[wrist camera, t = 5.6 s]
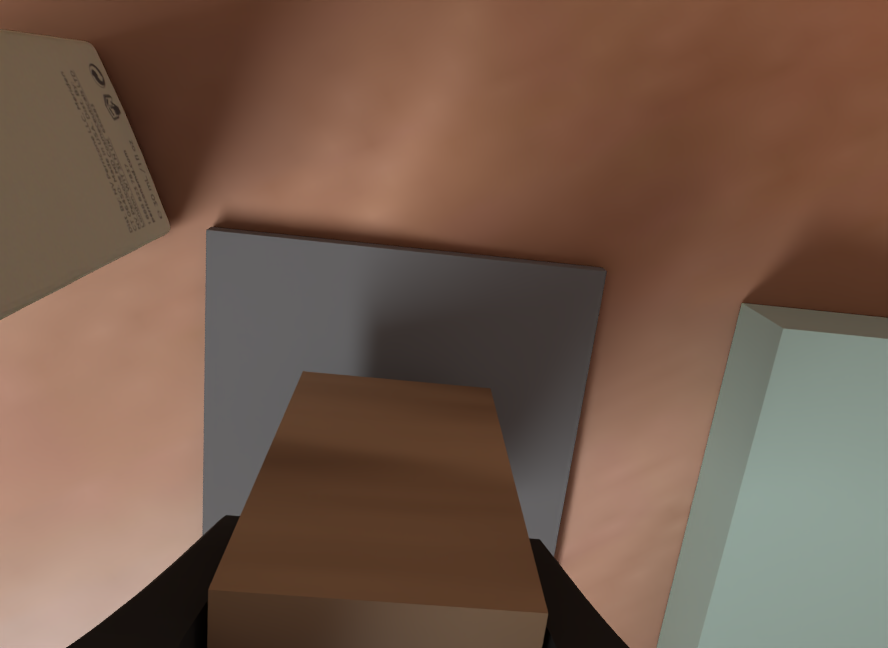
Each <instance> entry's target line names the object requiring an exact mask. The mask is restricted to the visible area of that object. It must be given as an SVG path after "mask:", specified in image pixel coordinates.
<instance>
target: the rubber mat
mask: <svg viewBox="0 0 888 648" xmlns="http://www.w3.org/2000/svg"><path fill="white" fill-rule="evenodd" d="M606 273H607V271H606V270H605V269H603V268H601V267H592V266H582V265H572V264H563V263H553V262H544V261H534V260H524V259H515V258H505V257H496V256H486V255H476V254H467V253H457V252H448V251H438V250H428V249H419V248H409V247H400V246H390V245H381V244H371V243H361V242H352V241H342V240H333V239H323V238H313V237H304V236H294V235H285V234H275V233H265V232H256V231H246V230H237V229H227V228H217V227H210V228H209V229H207V230H206V302H205V382H204V462H203V535H204V534H205V533H206V532H207V531H208V530H209V529H210V528H211V527H212V526H214V525H215V524H216V523H217V522H218V521H219V520H220V519H221V518H223V517H224V516H225V515H233V516H240V515H241V513H242V511H243V508H244V506H245V504H246V501H247V499H248V497H249V494H250V492H251V490H252V487H253V485H254V483H255V481H256V478H257V476H258V474H259V471H260V469H261V467H262V464H263V462H264V460H265V457H266V455H267V453H268V451H269V448H270V446H271V444H272V441H273V439H274V437H275V434H276V432H277V430H278V427H279V425H280V423H281V421H282V418H283V416H284V414H285V411H286V409H287V407H288V404H289V402H290V400H291V397H292V395H293V393H294V391H295V388H296V386H297V384H298V381H299V379H300V377H301V374H302V372H303V371H306V372H317V373H328V374H339V375H350V376H361V377H372V378H383V379H393V380H404V381H415V382H426V383H437V384H448V385H459V386H470V387H481V388H491V392H492V396H493V400H494V404H495V408H496V412H497V416H498V420H499V423H500V427H501V431H502V435H503V439H504V443H505V447H506V451H507V455H508V458H509V462H510V466H511V470H512V474H513V478H514V482H515V486H516V490H517V493H518V497H519V501H520V505H521V509H522V513H523V517H524V521H525V525H526V528H527V532H528V536H529V538H531V539H540V540H541V541H542V543H543V544H544V545H545V546H546V548H547V549H548V550H549V551H550V553H551V554H552V555H553V557H554V553H555V548H556V542H557V537H558V532H559V526H560V521H561V515H562V510H563V505H564V499H565V494H566V488H567V483H568V478H569V472H570V467H571V462H572V456H573V451H574V445H575V440H576V435H577V429H578V424H579V418H580V413H581V408H582V402H583V397H584V392H585V386H586V381H587V375H588V370H589V365H590V359H591V354H592V348H593V343H594V338H595V332H596V327H597V322H598V316H599V311H600V305H601V300H602V295H603V289H604V284H605V278H606Z"/></svg>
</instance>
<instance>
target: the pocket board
mask: <svg viewBox="0 0 888 648" xmlns="http://www.w3.org/2000/svg"><path fill="white" fill-rule="evenodd" d="M657 648H888V318H885V317H875V316H865V315H856V314H846V313H836V312H826V311H817V310H807V309H797V308H787V307H777V306H768V305H758V304H748V303H742V304H741V308H740V312H739V316H738V320H737V324H736V328H735V332H734V336H733V341H732V345H731V349H730V353H729V357H728V361H727V365H726V369H725V373H724V377H723V381H722V385H721V389H720V393H719V397H718V401H717V405H716V409H715V413H714V417H713V421H712V425H711V429H710V434H709V438H708V442H707V446H706V450H705V454H704V458H703V462H702V466H701V470H700V474H699V478H698V482H697V486H696V490H695V494H694V498H693V502H692V506H691V510H690V514H689V518H688V522H687V526H686V531H685V535H684V539H683V543H682V547H681V551H680V555H679V559H678V563H677V567H676V571H675V575H674V579H673V583H672V587H671V591H670V595H669V599H668V603H667V607H666V611H665V615H664V619H663V624H662V628H661V632H660V636H659V640H658V644H657Z"/></svg>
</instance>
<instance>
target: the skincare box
mask: <svg viewBox="0 0 888 648" xmlns="http://www.w3.org/2000/svg"><path fill="white" fill-rule="evenodd" d="M169 231H170V224H169V221H168V218H167V216H166V214H165V211H164V209H163V206H162V204H161V201H160V199H159V196H158V193H157V191H156V188H155V185H154V183H153V180H152V178H151V175H150V173H149V170H148V168H147V165H146V163H145V160H144V158H143V155H142V153H141V150H140V148H139V146H138V143H137V141H136V138H135V136H134V133H133V131H132V129H131V126H130V124H129V121H128V119H127V117H126V114H125V112H124V110H123V108H122V105H121V103H120V101H119V99H118V96H117V94H116V92H115V90H114V88H113V86H112V83H111V81H110V79H109V77H108V75H107V73H106V70H105V68H104V66H103V64H102V62H101V60H100V58H99V55H98V53H97V51H96V50H95V48H94V47H93V45H92V44H90V43H89V42H86V41H82V40H74V39H66V38H59V37H53V36H47V35H37V34H31V33H26V32H19V31H11V30H4V29H0V320H1V319H3V318H5V317H7V316H9V315H11V314H13V313H14V312H16V311H18V310H20V309H22V308H24V307H26V306H28V305H30V304H32V303H33V302H35V301H37V300H39V299H41V298H43V297H45V296H47V295H49V294H51V293H53V292H55V291H57V290H59V289H61V288H63V287H65V286H67V285H69V284H70V283H72V282H74V281H76V280H78V279H80V278H82V277H84V276H86V275H87V274H89V273H91V272H93V271H95V270H97V269H99V268H101V267H103V266H105V265H107V264H109V263H111V262H113V261H115V260H117V259H119V258H121V257H123V256H125V255H127V254H129V253H130V252H132V251H134V250H136V249H138V248H140V247H142V246H144V245H145V244H147V243H149V242H151V241H153V240H155V239H157V238H159V237H161V236H164V235H165V234H167V233H168V232H169Z"/></svg>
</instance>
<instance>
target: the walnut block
mask: <svg viewBox="0 0 888 648" xmlns="http://www.w3.org/2000/svg"><path fill="white" fill-rule="evenodd" d="M547 618H548V610H547V606H546V602H545V598H544V595H543V591H542V587H541V583H540V579H539V575H538V571H537V567H536V563H535V560H534V556H533V552H532V548H531V544H530V540H529V536H528V532H527V528H526V525H525V521H524V517H523V513H522V509H521V505H520V501H519V497H518V493H517V490H516V486H515V482H514V478H513V474H512V470H511V466H510V462H509V458H508V455H507V451H506V447H505V443H504V439H503V435H502V431H501V427H500V423H499V420H498V416H497V412H496V408H495V404H494V400H493V396H492V392H491V388H481V387H470V386H459V385H448V384H437V383H426V382H415V381H404V380H393V379H383V378H372V377H361V376H350V375H339V374H328V373H317V372H306V371H303V372H302V374H301V377H300V379H299V381H298V384H297V386H296V388H295V391H294V393H293V395H292V397H291V400H290V402H289V404H288V407H287V409H286V411H285V414H284V416H283V418H282V421H281V423H280V425H279V427H278V430H277V432H276V434H275V437H274V439H273V441H272V444H271V446H270V448H269V451H268V453H267V455H266V457H265V460H264V462H263V464H262V467H261V469H260V471H259V474H258V476H257V478H256V481H255V483H254V485H253V487H252V490H251V492H250V494H249V497H248V499H247V501H246V504H245V506H244V508H243V511H242V513H241V515H240V517H239V520H238V522H237V524H236V527H235V529H234V531H233V534H232V536H231V538H230V541H229V543H228V545H227V547H226V550H225V552H224V554H223V557H222V559H221V561H220V564H219V566H218V568H217V571H216V573H215V575H214V577H213V580H212V582H211V584H210V587H209V589H208V632H207V648H542V645H543V639H544V634H545V629H546V623H547Z"/></svg>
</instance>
